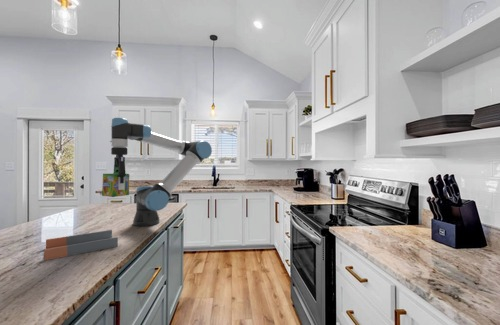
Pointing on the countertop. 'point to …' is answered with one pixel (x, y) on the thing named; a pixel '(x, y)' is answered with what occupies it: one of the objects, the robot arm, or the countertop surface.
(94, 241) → the channel
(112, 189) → the chalk box
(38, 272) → the countertop surface
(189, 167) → the robot arm
